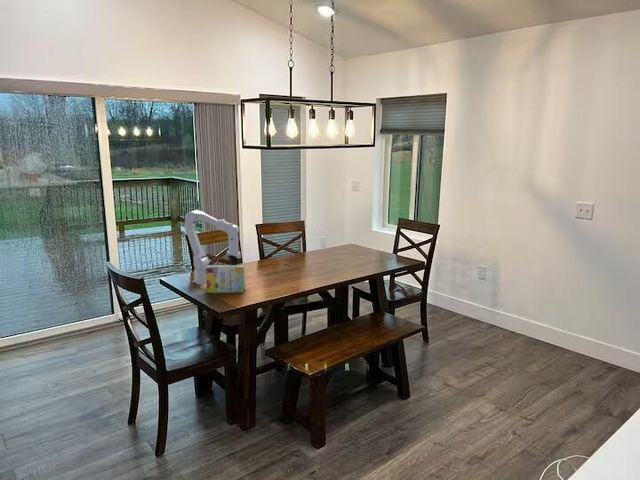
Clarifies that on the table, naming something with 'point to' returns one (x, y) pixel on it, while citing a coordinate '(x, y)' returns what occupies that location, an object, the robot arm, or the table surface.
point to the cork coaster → (203, 286)
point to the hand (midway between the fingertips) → (234, 267)
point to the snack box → (225, 278)
